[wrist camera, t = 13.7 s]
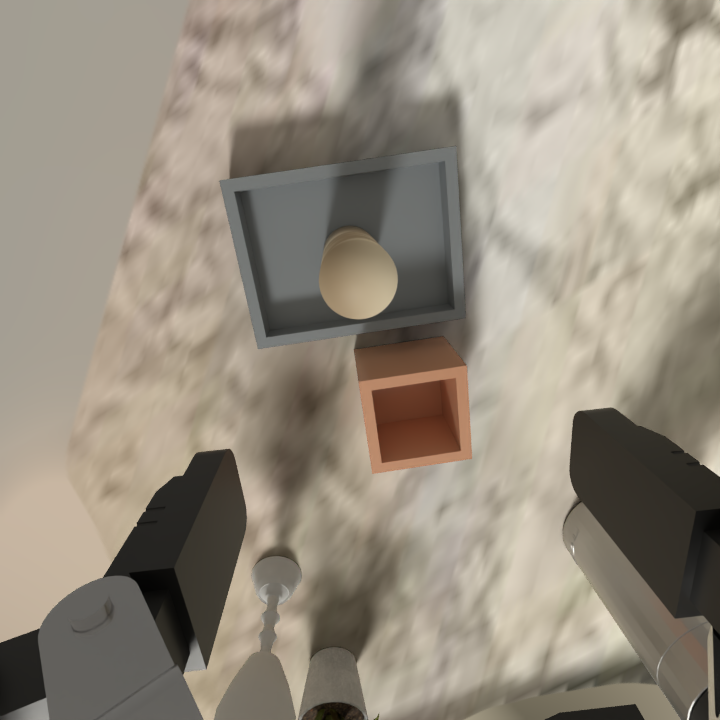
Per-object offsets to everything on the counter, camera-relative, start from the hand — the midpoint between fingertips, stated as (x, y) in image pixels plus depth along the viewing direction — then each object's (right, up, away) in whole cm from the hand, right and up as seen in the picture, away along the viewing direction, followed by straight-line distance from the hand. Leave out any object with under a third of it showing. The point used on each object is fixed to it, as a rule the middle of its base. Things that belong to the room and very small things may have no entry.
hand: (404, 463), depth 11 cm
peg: (-2, +11, +23) cm, 26 cm away
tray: (-2, +11, +24) cm, 27 cm away
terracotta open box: (+3, 0, +28) cm, 29 cm away
